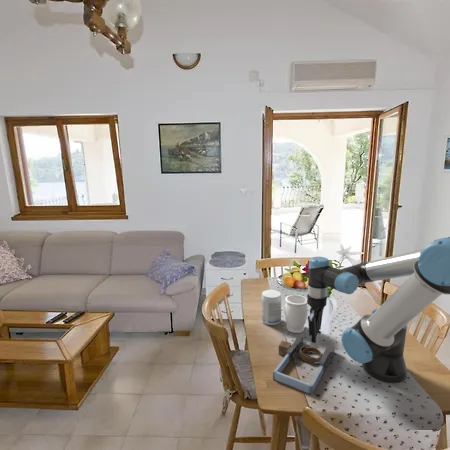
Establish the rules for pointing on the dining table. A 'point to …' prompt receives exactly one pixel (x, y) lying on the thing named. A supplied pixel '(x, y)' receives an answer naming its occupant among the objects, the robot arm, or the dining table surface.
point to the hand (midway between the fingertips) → (313, 347)
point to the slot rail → (325, 356)
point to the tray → (293, 381)
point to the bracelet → (307, 357)
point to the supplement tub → (271, 307)
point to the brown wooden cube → (284, 347)
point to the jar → (295, 313)
